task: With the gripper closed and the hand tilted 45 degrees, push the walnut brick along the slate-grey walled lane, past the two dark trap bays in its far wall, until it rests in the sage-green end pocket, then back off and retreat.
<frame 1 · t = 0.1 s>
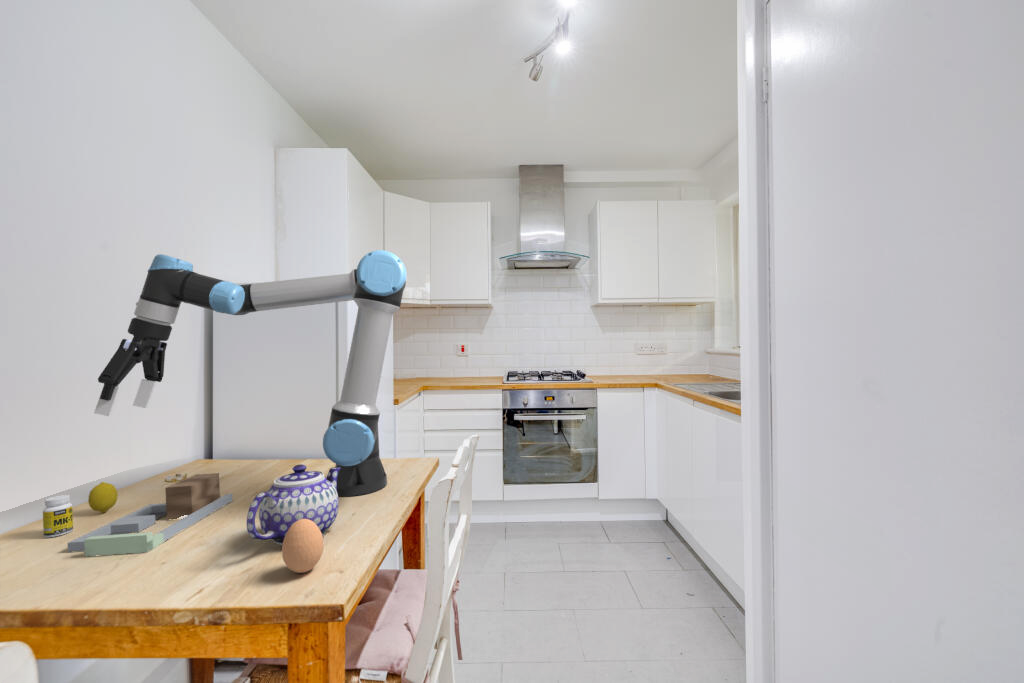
hand: (122, 410, 99), 28 cm above the table, tool tilted 20°, fingers open, 13 cm apart
egg: (304, 572, 77), on the table
teapot: (301, 536, 93), on the table
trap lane: (172, 523, 103), on the table
walnut block: (194, 511, 111), on the table
supplement bottle: (58, 534, 101), on the table
lemon: (103, 513, 113), on the table
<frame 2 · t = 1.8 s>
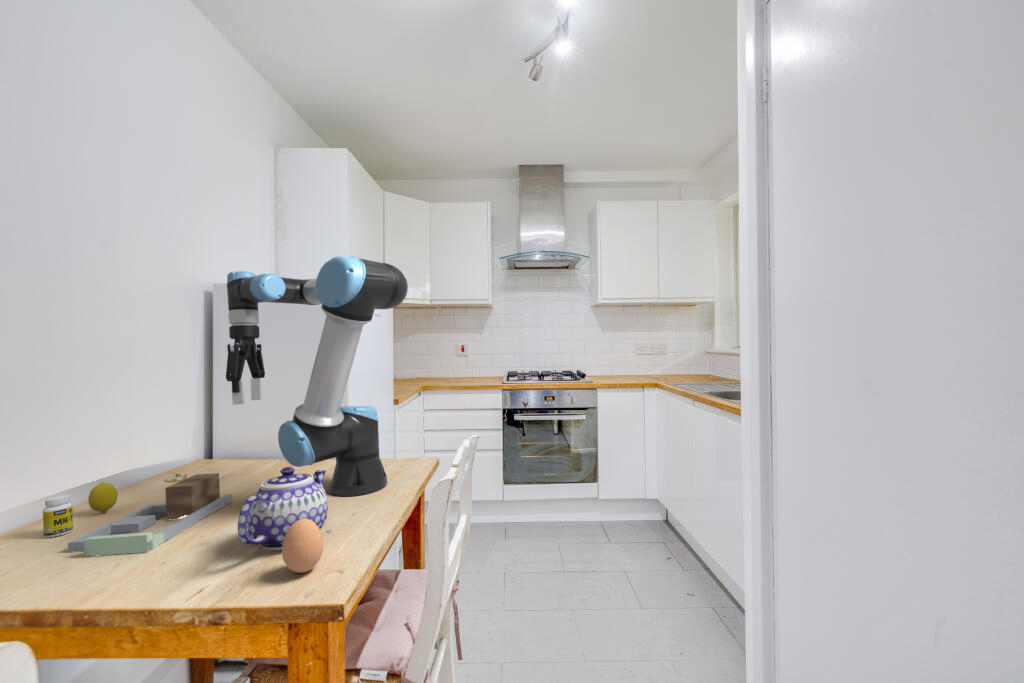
hand: (247, 401, 128), 25 cm above the table, tool pointing down, fingers open, 9 cm apart
teapot: (290, 540, 91), on the table
everything else where it was.
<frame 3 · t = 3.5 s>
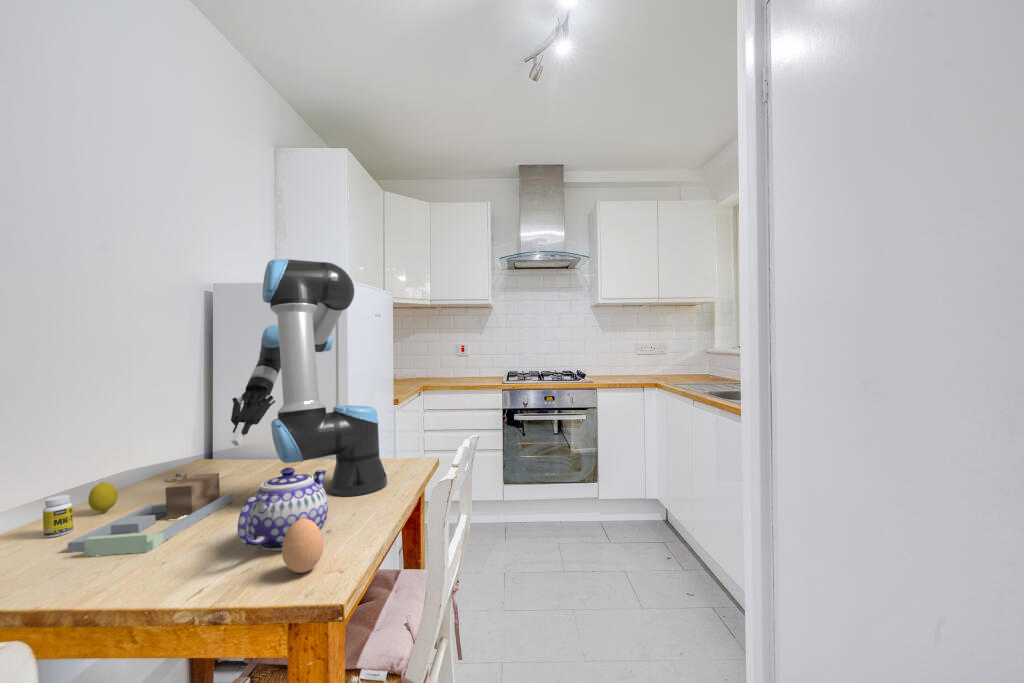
hand: (235, 443, 131), 13 cm above the table, tool tilted 45°, fingers closed
nothing on the table moved.
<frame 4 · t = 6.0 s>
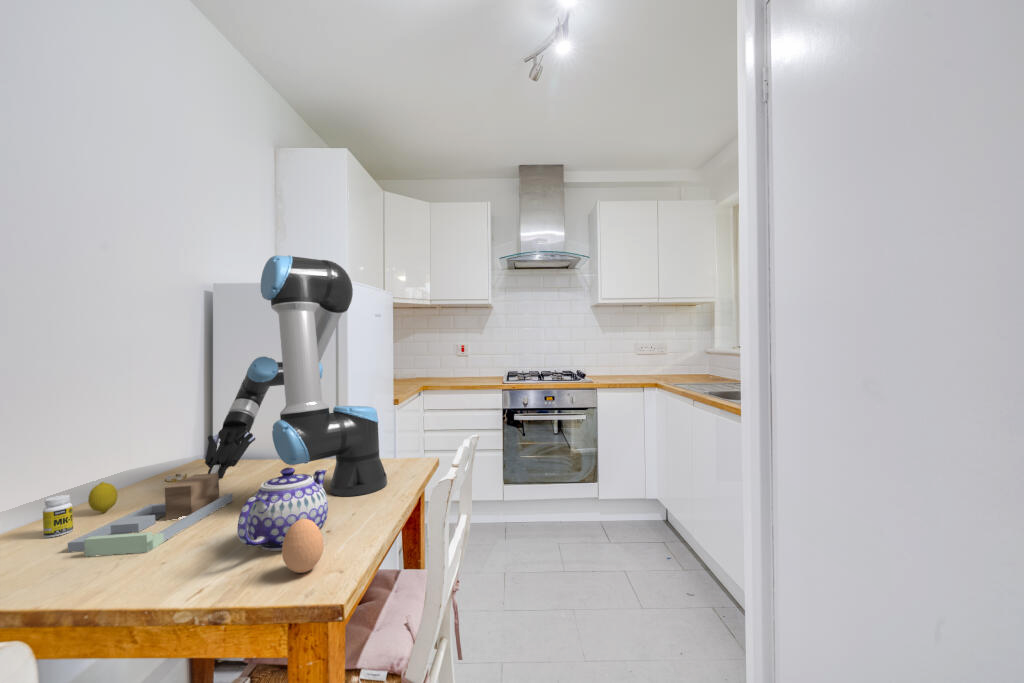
hand: (209, 489, 118), 3 cm above the table, tool tilted 45°, fingers closed
walnut block: (194, 511, 111), on the table, touching gripper
everything else where it was.
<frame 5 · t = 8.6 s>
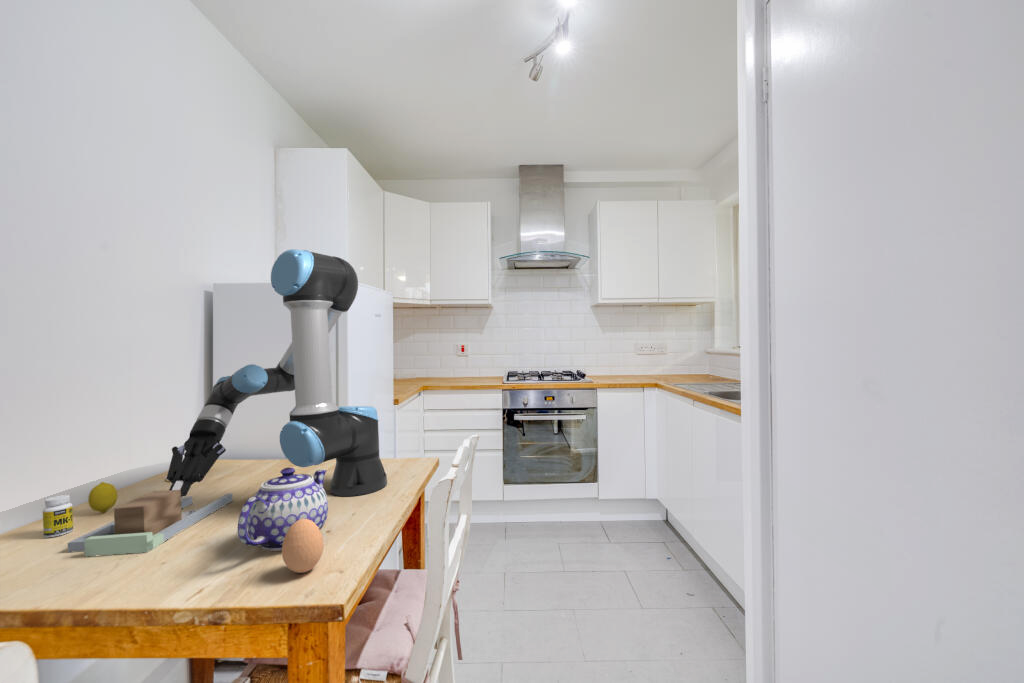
hand: (169, 508, 104), 3 cm above the table, tool tilted 45°, fingers closed
walnut block: (150, 534, 98), on the table, touching gripper
everything else where it was.
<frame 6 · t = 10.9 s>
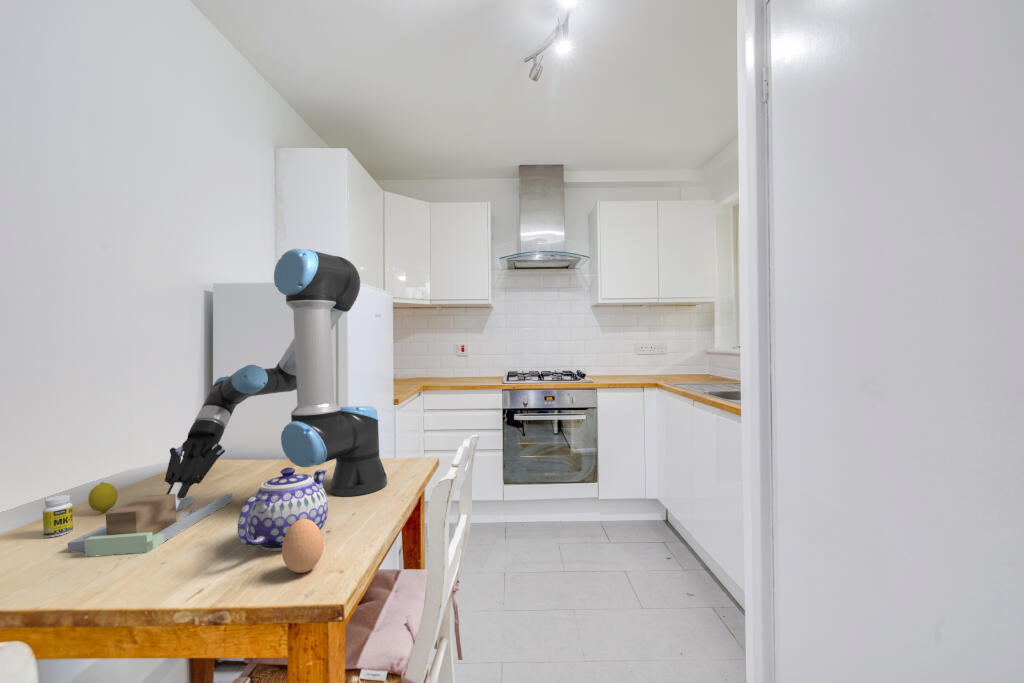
hand: (168, 510, 103), 3 cm above the table, tool tilted 45°, fingers closed
walnut block: (144, 539, 95), on the table
everything else where it was.
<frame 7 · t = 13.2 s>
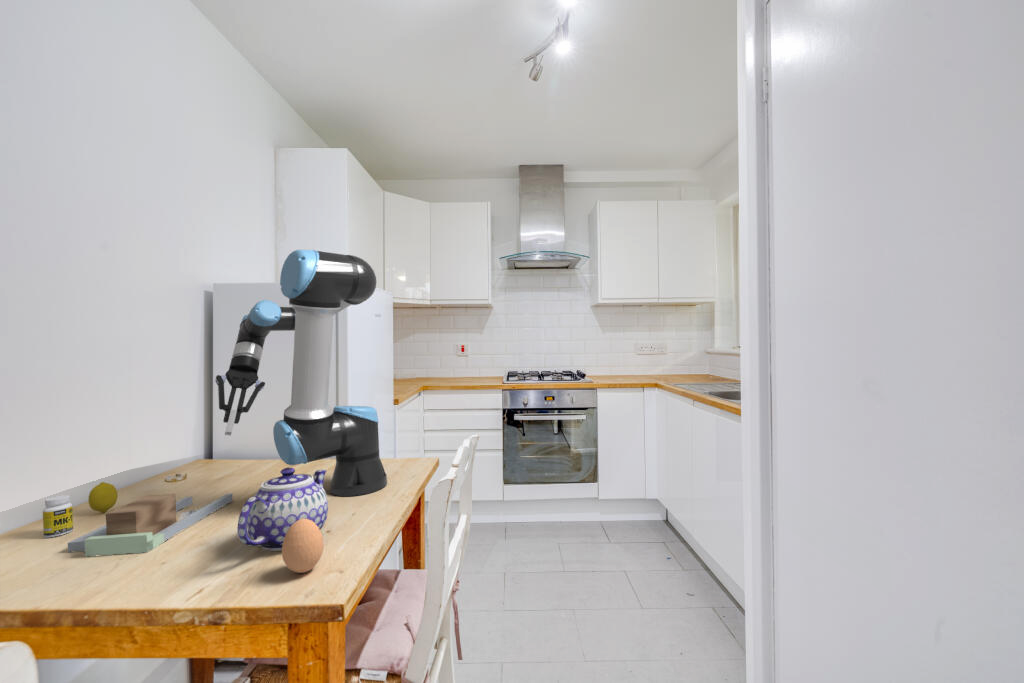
hand: (228, 433, 122), 18 cm above the table, tool tilted 30°, fingers closed
nothing on the table moved.
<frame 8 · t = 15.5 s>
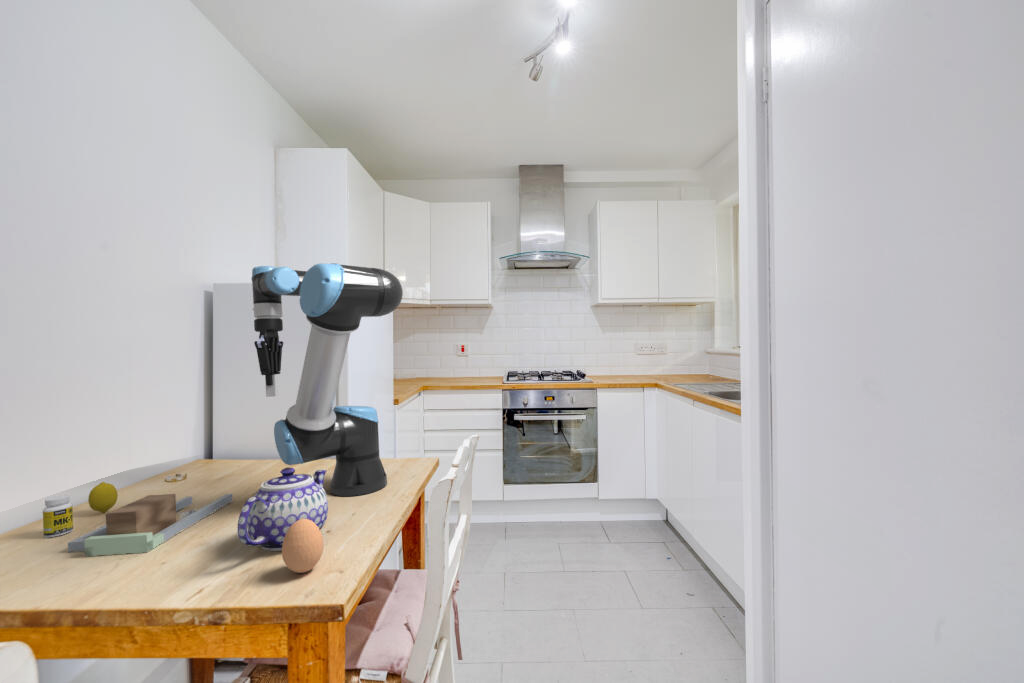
hand: (272, 396, 132), 26 cm above the table, tool pointing down, fingers closed
nothing on the table moved.
at the end: walnut block inside the target area (1.6 cm from its centre), on the table; walnut block tilted 0°; walnut block moved 16.5 cm from its start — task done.
